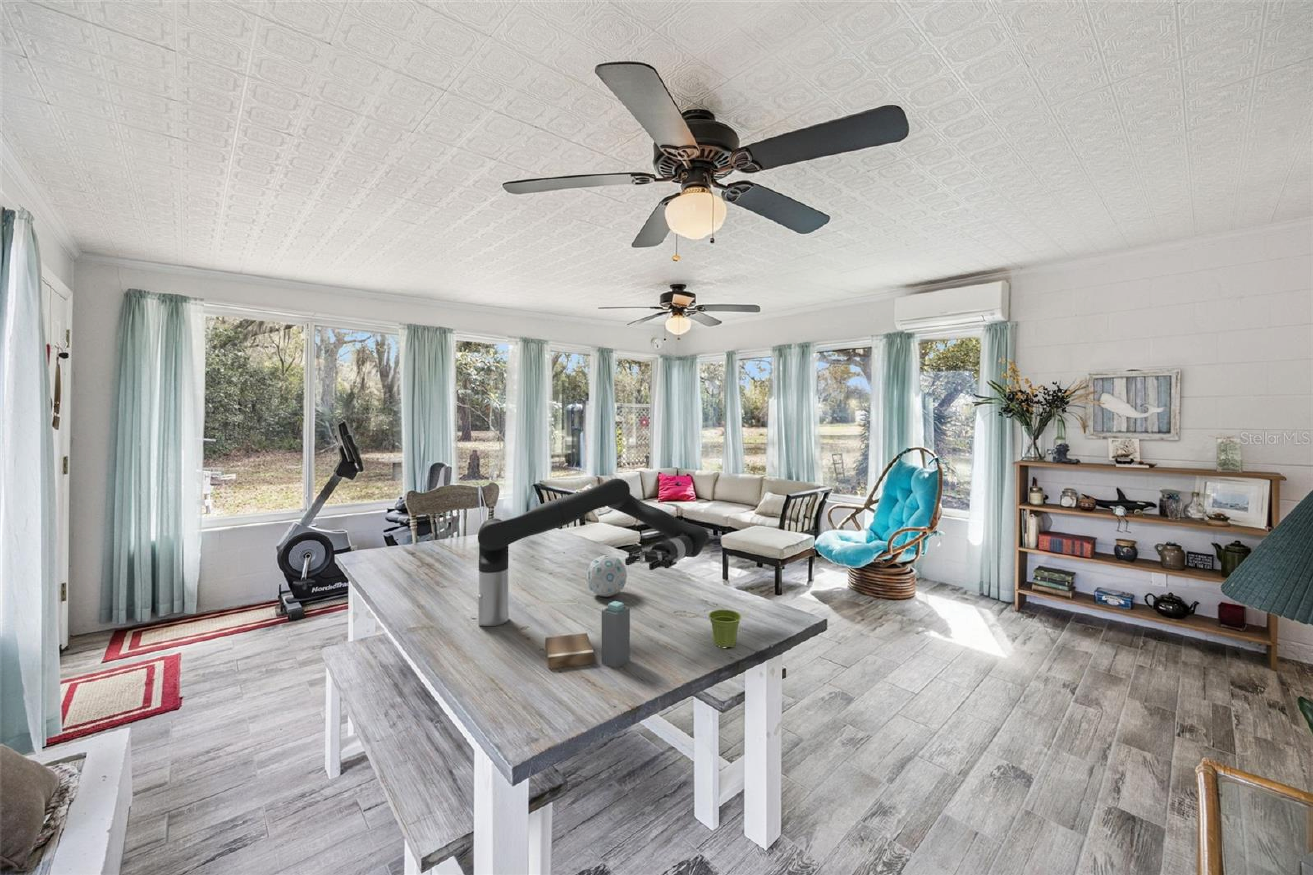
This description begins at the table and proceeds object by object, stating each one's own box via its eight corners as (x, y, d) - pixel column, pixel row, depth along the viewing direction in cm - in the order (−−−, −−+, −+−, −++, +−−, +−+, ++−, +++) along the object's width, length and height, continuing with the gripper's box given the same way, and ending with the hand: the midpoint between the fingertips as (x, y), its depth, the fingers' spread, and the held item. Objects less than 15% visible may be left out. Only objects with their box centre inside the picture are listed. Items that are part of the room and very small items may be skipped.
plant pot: (733, 654, 144) (733, 624, 144) (703, 646, 149) (703, 617, 149) (745, 642, 152) (746, 613, 152) (717, 635, 157) (717, 607, 157)
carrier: (615, 655, 144) (615, 603, 143) (629, 659, 141) (629, 607, 140) (601, 663, 139) (601, 610, 138) (615, 668, 136) (616, 614, 135)
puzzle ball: (579, 599, 188) (579, 558, 188) (598, 586, 202) (598, 549, 202) (616, 604, 183) (616, 563, 182) (633, 591, 197) (633, 552, 196)
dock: (548, 668, 135) (548, 657, 135) (545, 647, 148) (545, 636, 148) (593, 663, 138) (593, 651, 138) (586, 643, 151) (586, 632, 151)
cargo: (614, 611, 141) (615, 600, 141) (623, 614, 140) (623, 603, 140) (608, 615, 139) (608, 604, 139) (616, 617, 137) (616, 606, 137)
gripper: (650, 537, 164) (618, 547, 151) (688, 543, 156) (658, 554, 143) (650, 560, 165) (618, 573, 151) (688, 567, 157) (658, 581, 143)
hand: (638, 564), depth 147 cm, fingers open, 8 cm apart
